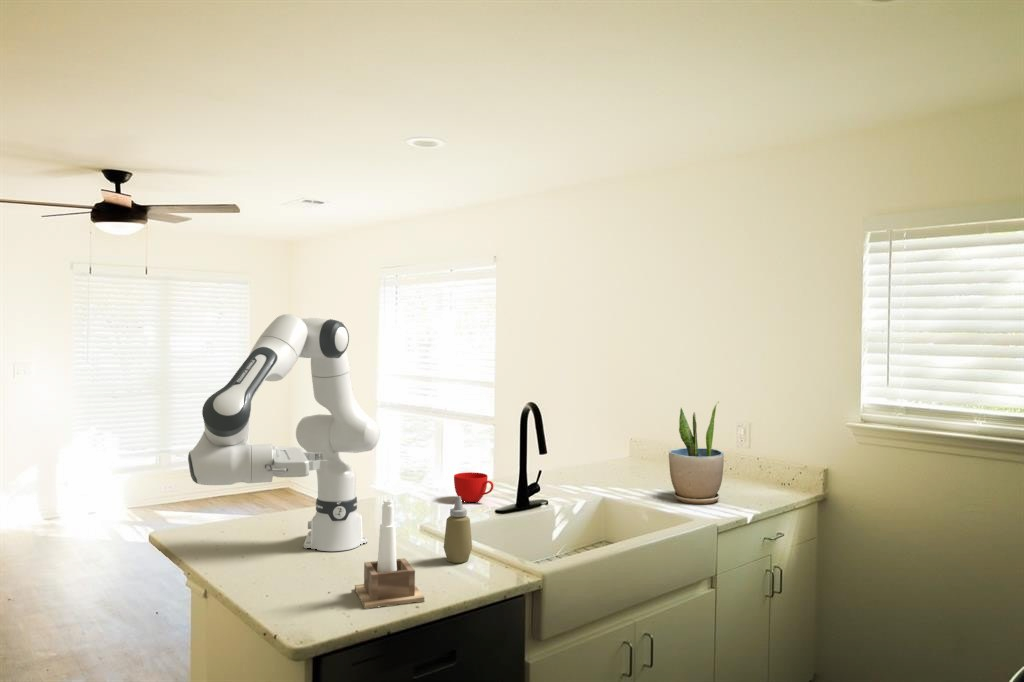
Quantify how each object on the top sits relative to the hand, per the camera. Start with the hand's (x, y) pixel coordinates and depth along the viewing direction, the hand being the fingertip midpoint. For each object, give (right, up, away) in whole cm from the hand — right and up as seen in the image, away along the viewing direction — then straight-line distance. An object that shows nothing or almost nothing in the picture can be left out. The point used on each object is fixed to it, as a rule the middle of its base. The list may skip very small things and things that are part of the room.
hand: (324, 460), depth 173 cm
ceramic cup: (+31, -33, +103) cm, 113 cm away
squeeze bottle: (+30, -33, +29) cm, 54 cm away
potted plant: (+118, -35, +112) cm, 166 cm away
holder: (+15, -33, +1) cm, 36 cm away
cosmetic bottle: (+15, -32, +1) cm, 35 cm away
